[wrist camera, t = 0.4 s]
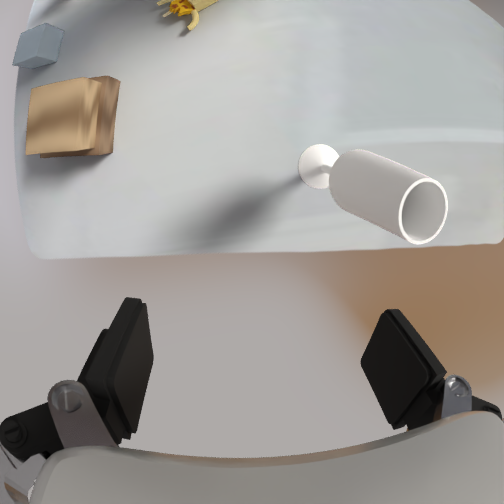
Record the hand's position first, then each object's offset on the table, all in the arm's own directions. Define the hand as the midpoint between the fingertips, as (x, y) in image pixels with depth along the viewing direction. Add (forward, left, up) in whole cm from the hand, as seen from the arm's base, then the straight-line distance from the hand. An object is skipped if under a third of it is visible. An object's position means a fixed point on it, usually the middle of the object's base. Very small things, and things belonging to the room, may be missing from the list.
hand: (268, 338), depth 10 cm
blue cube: (-24, -36, -31) cm, 53 cm away
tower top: (-10, -25, -26) cm, 37 cm away
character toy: (-28, -12, -31) cm, 44 cm away
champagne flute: (-5, +11, -31) cm, 33 cm away
